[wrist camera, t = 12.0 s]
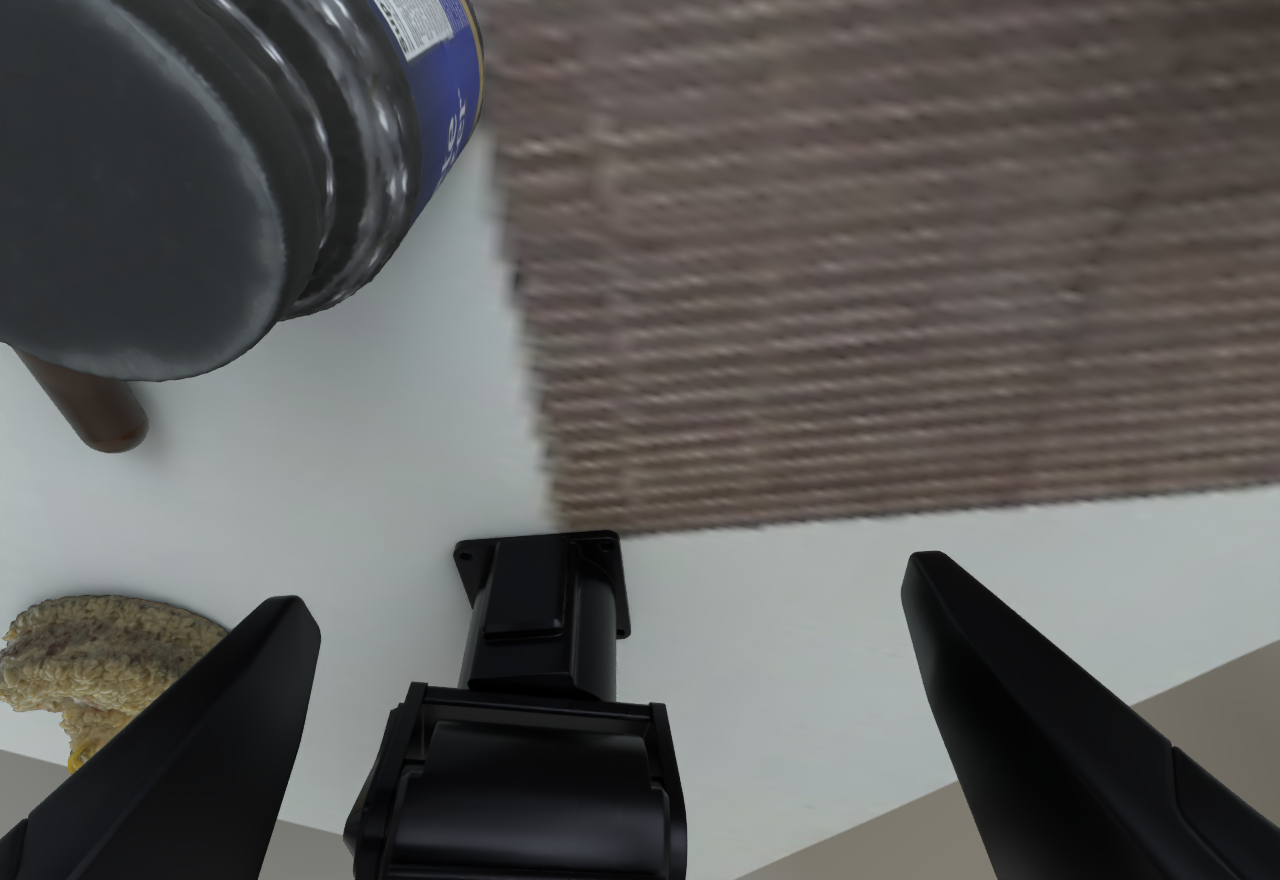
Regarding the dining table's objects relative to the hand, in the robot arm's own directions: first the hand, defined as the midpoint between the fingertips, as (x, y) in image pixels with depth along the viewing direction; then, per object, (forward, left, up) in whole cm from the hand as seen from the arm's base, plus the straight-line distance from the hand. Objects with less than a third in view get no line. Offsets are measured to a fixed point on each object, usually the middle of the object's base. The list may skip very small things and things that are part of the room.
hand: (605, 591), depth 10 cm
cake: (-17, +23, -12) cm, 31 cm away
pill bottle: (+6, +5, -12) cm, 15 cm away
